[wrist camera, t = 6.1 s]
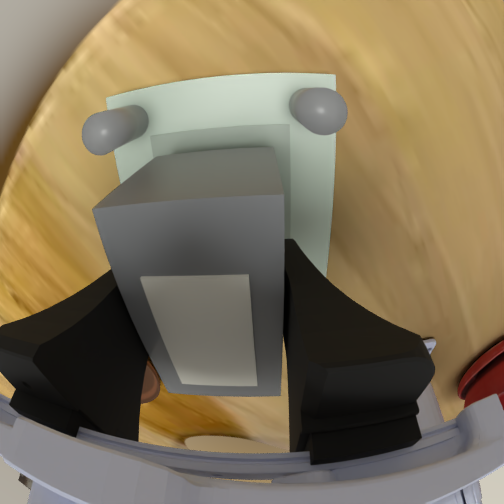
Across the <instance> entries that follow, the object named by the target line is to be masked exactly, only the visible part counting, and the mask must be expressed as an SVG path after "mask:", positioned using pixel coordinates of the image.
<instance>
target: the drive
mask: <svg viewBox="0 0 504 504" xmlns="http://www.w3.org/2000/svg"><path fill="white" fill-rule="evenodd" d="M92 211H93V214H94V217H95V221H96V224H97V227H98V231H99V234H100V237H101V240H102V243H103V246H104V249H105V252H106V255H107V258H108V261H109V263H110V266H111V269H112V272H113V274H114V277H115V280H116V282H117V285H118V287H119V290H120V292H121V295H122V297H123V300H124V302H125V304H126V307H127V309H128V312H129V314H130V316H131V318H132V321H133V323H134V325H135V327H136V330H137V332H138V334H139V336H140V338H141V340H142V342H143V344H144V346H145V349H146V351H147V353H148V355H149V357H150V359H151V361H152V362H153V364H154V366H155V368H156V370H157V372H158V374H159V376H160V378H161V380H162V381H163V383H164V385H165V387H166V389H167V390H168V392H169V393H179V394H191V395H208V396H242V397H255V396H280V395H281V373H282V347H283V313H284V237H285V224H284V191H283V186H282V182H281V177H280V173H279V168H278V164H277V160H276V156H275V151H274V147H254V148H235V149H221V150H209V151H198V152H188V153H179V154H171V155H163V156H156V157H155V158H153V159H152V160H151V161H149V162H148V163H147V164H146V165H144V166H143V167H142V168H140V169H139V170H138V171H137V172H135V173H134V174H133V175H131V176H130V177H129V178H128V179H127V180H125V181H124V182H123V183H122V184H120V185H119V186H118V187H117V188H116V189H114V190H113V191H112V192H111V193H110V194H109V195H107V196H106V197H105V198H104V199H103V200H102V201H100V202H99V203H98V204H97V205H96V206H95V207H94V208H93V209H92Z"/></svg>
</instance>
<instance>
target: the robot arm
mask: <svg viewBox="0 0 504 504" xmlns="http://www.w3.org/2000/svg"><path fill="white" fill-rule="evenodd" d="M283 337H284V343H285V349H286V357H287V373H288V396H289V433H290V453H265V454H264V453H263V454H249V453H248V454H247V453H219V452H207V451H195V450H186V449H178V448H171V447H164V446H158V445H152V444H147V443H142V442H138V438H139V415H140V405H141V395H142V389H143V382H144V376H145V371H146V366H147V361H148V356H149V355H148V353H147V351H146V349H145V346H144V344H143V342H142V340H141V338H140V336H139V334H138V332H137V330H136V327H135V325H134V323H133V321H132V318H131V316H130V314H129V312H128V309H127V307H126V304H125V302H124V300H123V297H122V295H121V292H120V290H119V287H118V285H117V282H116V280H115V277H114V274H113V272H112V269H111V270H109V271H108V272H107V273H105V274H104V275H102V276H101V277H100V278H98V279H97V280H95V281H94V282H93V283H91V284H90V285H88V286H87V287H85V288H84V289H82V290H80V291H79V292H77V293H76V294H74V295H72V296H70V297H69V298H67V299H65V300H63V301H61V302H59V303H57V304H55V305H53V306H52V307H50V308H47V309H45V310H43V311H41V312H38V313H36V314H34V315H31V316H29V317H26V318H23V319H20V320H17V321H14V322H11V323H8V324H5V325H2V326H1V327H0V372H1V373H2V374H3V375H4V377H5V378H6V379H7V380H8V381H9V382H10V383H11V384H12V385H13V386H14V387H15V389H16V390H15V392H14V394H13V396H12V398H11V399H10V398H8V397H6V396H4V395H2V394H0V456H2V457H3V459H4V461H5V463H6V464H8V465H9V466H11V467H12V468H13V469H15V470H17V471H18V472H20V473H21V474H23V475H24V476H26V477H28V478H29V479H31V480H33V483H32V487H31V490H30V494H29V499H28V503H27V504H482V501H481V499H482V494H481V488H480V483H479V480H480V479H482V478H484V477H486V476H487V475H489V474H491V473H492V472H494V471H496V470H497V469H499V468H500V467H502V466H504V410H503V407H502V405H501V403H500V400H499V398H498V395H497V394H493V395H491V396H488V397H486V398H484V399H481V400H479V401H477V402H474V403H472V404H470V405H469V406H467V407H466V408H465V409H463V410H462V411H461V412H460V413H459V414H458V416H457V417H456V418H455V419H452V420H449V421H447V422H444V419H443V416H442V413H441V410H440V407H439V404H438V401H437V398H436V396H435V393H434V390H433V387H432V385H431V382H430V381H431V379H432V377H433V375H434V372H435V366H434V363H433V361H432V359H431V356H430V354H431V352H432V350H433V349H434V347H435V345H436V341H435V339H428V340H422V338H421V336H420V335H417V334H415V333H413V332H410V331H408V330H406V329H403V328H401V327H399V326H396V325H394V324H392V323H390V322H388V321H386V320H384V319H382V318H381V317H379V316H377V315H375V314H373V313H372V312H370V311H368V310H367V309H365V308H364V307H362V306H361V305H359V304H358V303H356V302H355V301H353V300H352V299H350V298H349V297H348V296H346V295H345V294H344V293H343V292H341V291H340V290H339V289H338V288H337V287H335V286H334V285H333V284H332V283H331V282H330V281H329V280H328V279H327V278H326V277H325V276H324V275H323V274H322V273H321V272H320V271H319V270H318V269H317V268H316V267H315V265H314V264H313V263H312V262H311V261H310V260H309V259H308V257H307V256H306V255H305V254H304V252H303V251H302V250H301V248H300V247H299V246H298V244H297V243H296V241H295V240H294V239H284V313H283ZM208 477H209V478H208ZM215 478H222V479H215ZM223 479H245V480H271V479H273V480H272V483H256V482H242V481H232V480H223Z"/></svg>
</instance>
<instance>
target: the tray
mask: <svg viewBox="0 0 504 504" xmlns="http://www.w3.org/2000/svg"><path fill="white" fill-rule="evenodd" d="M106 102H107V111H103V112H99V113H95V114H93V115H91V116H90V117H89V118H88V119H87V120H86V122H85V123H84V126H83V129H82V140H83V143H84V145H85V147H86V148H87V150H88V151H90V152H91V153H93V154H95V155H105V154H107V153H109V152H111V151H113V150H114V154H115V159H116V164H117V169H118V174H119V179H120V184H122V183H123V182H124V181H125V180H127V179H128V178H129V177H130V176H131V175H133V174H134V173H135V172H137V171H138V170H139V169H140V168H142V167H143V166H144V165H146V164H147V163H148V162H149V161H151V160H152V159H153V158H155V157H156V156H163V155H171V154H179V153H188V152H198V151H209V150H221V149H235V148H254V147H274V151H275V156H276V160H277V164H278V168H279V173H280V177H281V182H282V186H283V191H284V224H285V237H284V239H294V240H295V241H296V243H297V244H298V246H299V247H300V248H301V250H302V251H303V252H304V254H305V255H306V256H307V257H308V259H309V260H310V261H311V262H312V263H313V264H314V265H315V267H316V268H317V269H318V270H319V271H320V272H321V273H322V274H323V275H324V276H325V277H326V273H327V264H328V255H329V245H330V234H331V222H332V209H333V194H334V176H335V151H336V132H337V131H339V130H340V129H341V128H342V127H343V125H344V124H345V122H346V119H347V113H348V112H347V106H346V103H345V101H344V99H343V98H342V97H341V95H339V94H338V93H337V92H336V75H332V74H314V73H257V74H240V75H227V76H217V77H208V78H200V79H192V80H185V81H179V82H173V83H168V84H162V85H157V86H152V87H147V88H143V89H138V90H134V91H130V92H126V93H122V94H118V95H114V96H111V97H107V98H106Z"/></svg>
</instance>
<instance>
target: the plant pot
mask: <svg viewBox="0 0 504 504" xmlns="http://www.w3.org/2000/svg"><path fill="white" fill-rule="evenodd" d="M493 394H497V395H498V398H499V400H500V403H501V405H502V407H503V410H504V340H503V341H501V342H500V343H498V344H497V345H495V346H494V347H492V348H491V349H489V350H488V351H487V352H485V353H484V354H483V355H482V356H481V357H480V358H479V359H478V360H477V361H476V362H475V363H474V364H473V365H472V366H471V367H470V368H469V369H468V371H467V372H466V373H465V375H464V376H463V378H462V379H461V381H460V384H459V387H458V396H459V398H460V399H462V400H465V404H464V409H465V408H466V407H467V406H469V405H470V404H472V403H474V402H477V401H479V400H481V399H484V398H486V397H488V396H491V395H493Z"/></svg>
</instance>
